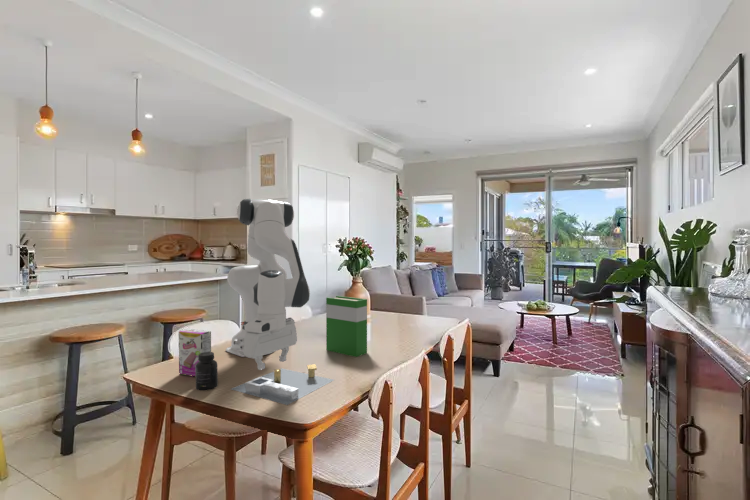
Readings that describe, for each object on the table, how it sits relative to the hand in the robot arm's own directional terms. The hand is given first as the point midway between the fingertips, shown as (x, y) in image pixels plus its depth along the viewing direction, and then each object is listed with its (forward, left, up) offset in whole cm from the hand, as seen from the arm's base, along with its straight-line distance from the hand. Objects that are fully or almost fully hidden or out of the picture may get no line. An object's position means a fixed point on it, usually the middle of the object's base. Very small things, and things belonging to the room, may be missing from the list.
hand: (272, 365), depth 124 cm
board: (-3, +8, -10) cm, 13 cm away
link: (0, 0, -9) cm, 9 cm away
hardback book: (-8, +54, -10) cm, 55 cm away
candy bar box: (-40, +1, -10) cm, 41 cm away
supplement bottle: (-24, -6, -10) cm, 27 cm away
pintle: (-6, +8, -9) cm, 14 cm away
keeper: (+2, +18, -9) cm, 20 cm away
